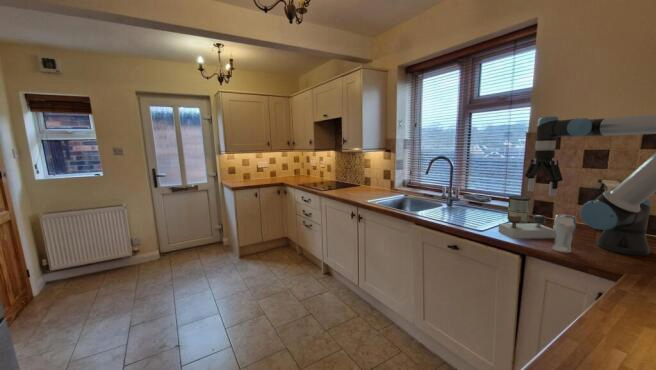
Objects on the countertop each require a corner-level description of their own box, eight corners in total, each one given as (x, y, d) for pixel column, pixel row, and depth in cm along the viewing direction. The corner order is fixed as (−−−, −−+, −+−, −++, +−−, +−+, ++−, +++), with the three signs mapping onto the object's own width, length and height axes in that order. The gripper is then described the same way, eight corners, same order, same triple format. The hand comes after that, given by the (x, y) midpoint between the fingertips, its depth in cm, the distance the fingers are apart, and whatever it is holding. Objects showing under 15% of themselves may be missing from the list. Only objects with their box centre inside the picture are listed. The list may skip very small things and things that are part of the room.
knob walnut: (522, 229, 129) (523, 217, 128) (512, 229, 129) (513, 217, 129) (515, 226, 134) (516, 214, 133) (505, 226, 134) (506, 214, 133)
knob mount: (554, 238, 126) (555, 230, 126) (512, 238, 127) (513, 230, 126) (537, 230, 137) (538, 223, 137) (498, 231, 138) (499, 223, 137)
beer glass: (550, 250, 112) (554, 216, 110) (551, 245, 117) (555, 212, 115) (572, 254, 108) (577, 219, 105) (572, 249, 113) (576, 215, 110)
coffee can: (503, 217, 162) (505, 195, 160) (521, 218, 161) (523, 195, 159) (513, 222, 152) (515, 198, 150) (532, 223, 151) (535, 198, 149)
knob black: (547, 229, 129) (548, 217, 128) (537, 229, 129) (538, 217, 128) (539, 226, 134) (540, 214, 133) (529, 226, 134) (530, 214, 133)
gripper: (576, 149, 115) (571, 197, 118) (533, 149, 140) (530, 189, 142) (558, 150, 115) (554, 197, 118) (519, 149, 140) (515, 189, 143)
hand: (540, 193), depth 130 cm, fingers open, 13 cm apart
